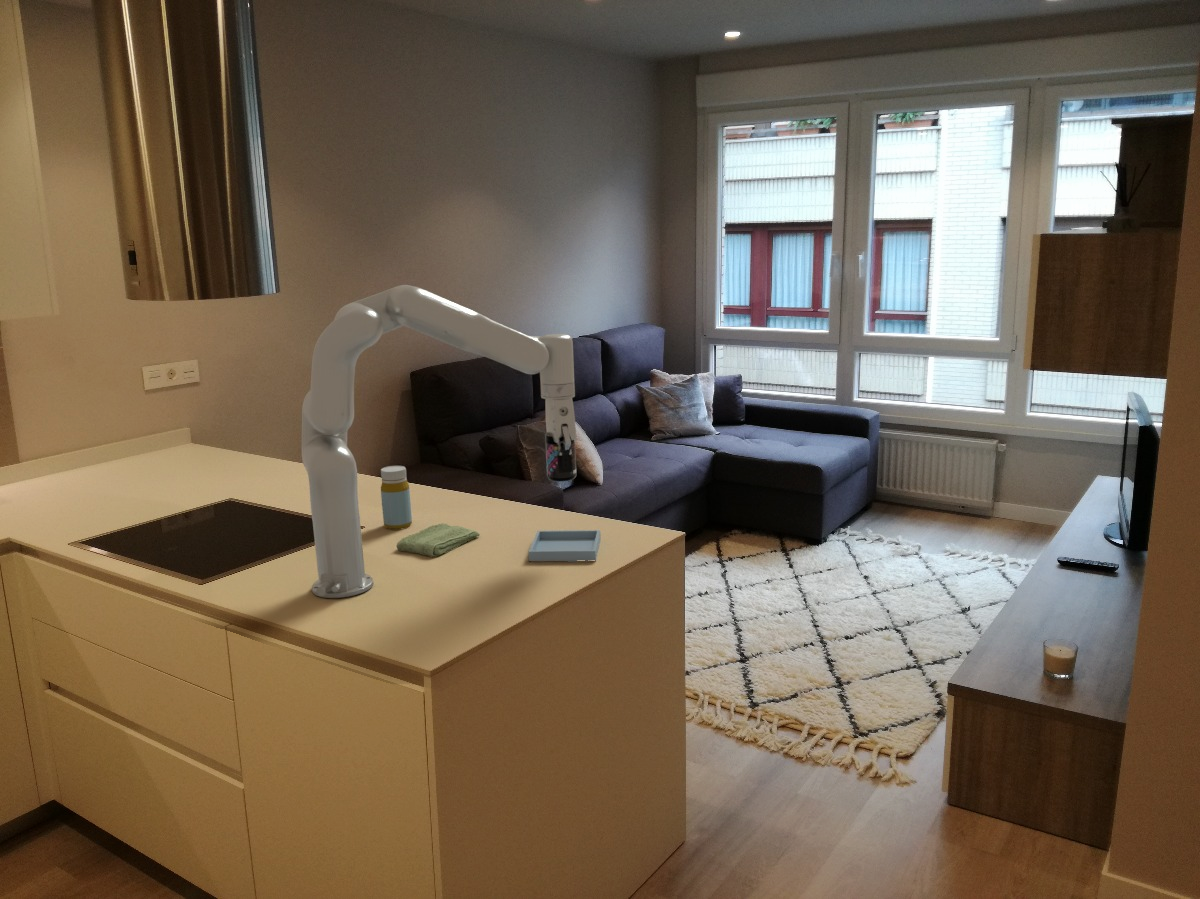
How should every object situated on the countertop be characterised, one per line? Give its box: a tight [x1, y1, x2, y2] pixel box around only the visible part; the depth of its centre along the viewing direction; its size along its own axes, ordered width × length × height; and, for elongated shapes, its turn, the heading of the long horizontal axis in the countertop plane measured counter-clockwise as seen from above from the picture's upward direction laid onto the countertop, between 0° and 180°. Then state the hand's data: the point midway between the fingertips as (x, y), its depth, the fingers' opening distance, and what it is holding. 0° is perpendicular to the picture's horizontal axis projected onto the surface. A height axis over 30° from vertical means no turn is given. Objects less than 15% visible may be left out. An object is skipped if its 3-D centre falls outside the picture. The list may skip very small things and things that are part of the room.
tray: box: [528, 529, 602, 562], centre depth 228 cm, size 15×15×2 cm
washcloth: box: [396, 522, 481, 558], centre depth 236 cm, size 13×18×3 cm
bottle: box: [380, 465, 413, 530], centre depth 250 cm, size 7×7×15 cm
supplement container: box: [544, 431, 577, 483], centre depth 223 cm, size 7×7×10 cm
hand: (561, 467), depth 224 cm, fingers closed on supplement container, 6 cm apart
